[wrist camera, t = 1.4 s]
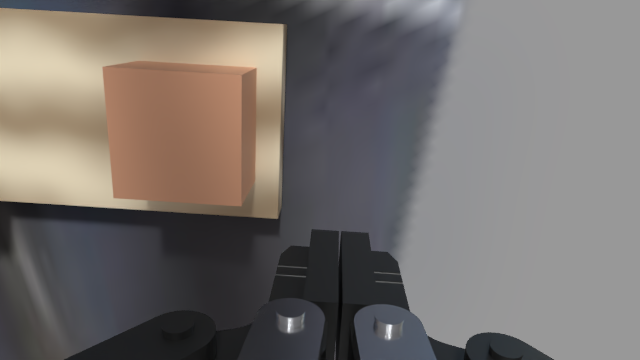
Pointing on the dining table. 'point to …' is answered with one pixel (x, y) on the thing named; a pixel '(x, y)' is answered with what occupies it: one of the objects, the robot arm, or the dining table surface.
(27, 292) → the dining table surface
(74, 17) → the board
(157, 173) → the carton
